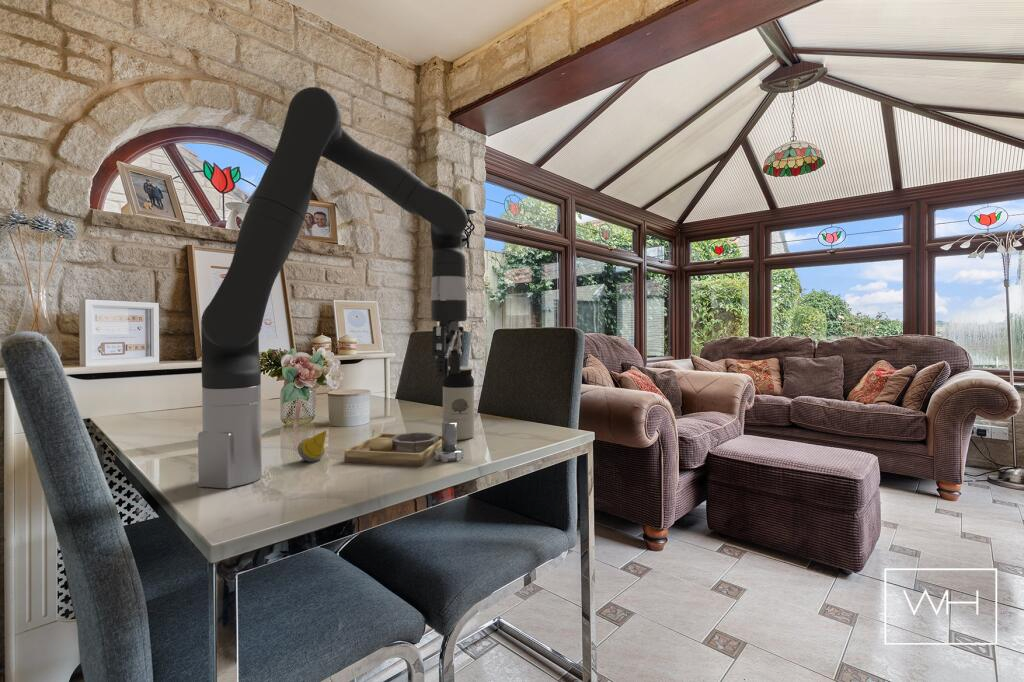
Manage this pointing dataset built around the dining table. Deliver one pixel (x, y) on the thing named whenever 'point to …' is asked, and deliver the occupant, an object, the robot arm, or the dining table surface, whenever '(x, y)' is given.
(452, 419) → the travel mug
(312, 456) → the yellow grey teardrop
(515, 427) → the dining table surface
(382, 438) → the carrier
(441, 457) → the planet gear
